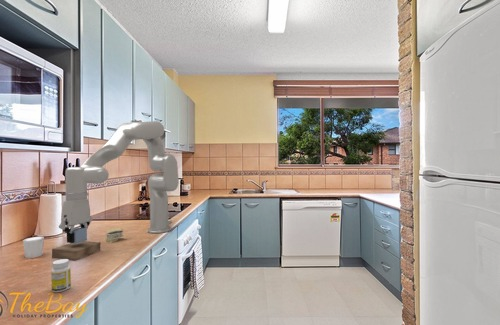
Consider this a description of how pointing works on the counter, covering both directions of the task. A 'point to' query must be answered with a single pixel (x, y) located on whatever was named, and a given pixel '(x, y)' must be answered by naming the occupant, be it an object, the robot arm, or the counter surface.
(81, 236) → the slate cube
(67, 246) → the walnut block
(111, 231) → the stacked layers on plate
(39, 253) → the white short cylinder
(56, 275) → the supplement bottle
